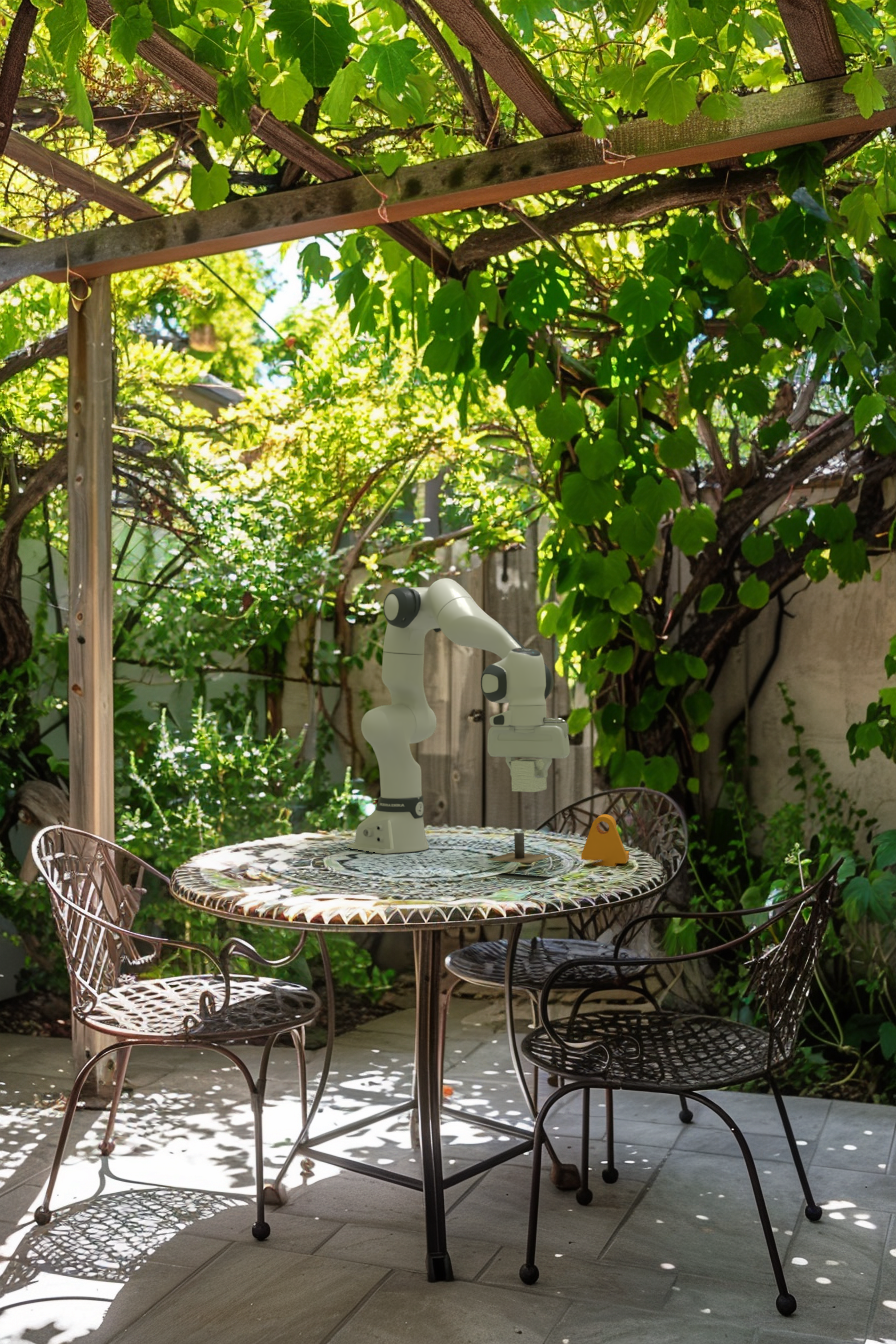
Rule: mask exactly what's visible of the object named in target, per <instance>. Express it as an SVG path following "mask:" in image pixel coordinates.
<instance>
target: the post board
mask: <svg viewBox="0 0 896 1344" xmlns="http://www.w3.org/2000/svg"><path fill="white" fill-rule="evenodd" d="M513 837H514V839H513V840H514V842H513V843H514V852H508V853H504V854H501V855H497V856H495V857H491V858H487V861H492V862H493V861H496V862H508V863H518V864H519V863H521V864H533V863H535V862H538V861H541V860H544V859H547V858H550V857H552V855H549V854H547V855H545V854H532V853H525V833H524V832H514V835H513Z"/></svg>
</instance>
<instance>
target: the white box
mask: <svg viewBox="0 0 896 1344" xmlns="http://www.w3.org/2000/svg"><path fill="white" fill-rule="evenodd" d="M544 764H545V763H543V762H542V758H522V759H521V758H520V759H515V760H514V761H511V775H510V777H511V776H512V777H511V792H521V793H523V792H524V793H525V792H527V793H536V792H537V793H538V792H542V791H545V790H547V786H548V785H547V777H546V778H539V770H542V768H543V766H544Z"/></svg>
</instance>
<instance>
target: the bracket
mask: <svg viewBox="0 0 896 1344" xmlns="http://www.w3.org/2000/svg"><path fill="white" fill-rule="evenodd" d="M601 822H603V823H605V824H607V825H608V830H607V831H605V830H602V828H601V826H600V823H601ZM580 857H581V859H580V860H593V861H597V862H594V863H592V864H591V865H592V867H616V866H617V865H618V864H627V862H628V861H629V860H630V851H629V850H626V849H625V847H624V844H623V841H622V839H621V836H620V834H619V831H618V828H617V822H616V819H615V818H614V817H613V816H612V815H609V814H605V813H603V814H600V815H598V817H597V818H595V819H594V820H593V822H592V824H591V827H590V829H589V831H588V835H587V837H586V841H585V843H584V846H583V849H582V852H581V856H580Z"/></svg>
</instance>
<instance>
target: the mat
mask: <svg viewBox="0 0 896 1344" xmlns="http://www.w3.org/2000/svg"><path fill="white" fill-rule="evenodd" d="M495 875H496V876H495V877H496V879H497V878H498V879H508V880H509V879H510V880H520V881H531V882H532V881H533V882H544V881H547V880H550V879H553V878H554V876H547V875H546V876H545V875H535V874H524V873H523V874H522V873H509V872H502V873H499V874H495Z"/></svg>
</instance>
